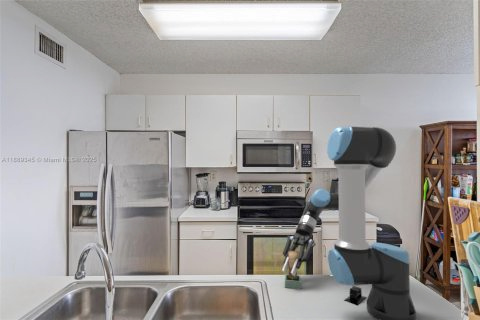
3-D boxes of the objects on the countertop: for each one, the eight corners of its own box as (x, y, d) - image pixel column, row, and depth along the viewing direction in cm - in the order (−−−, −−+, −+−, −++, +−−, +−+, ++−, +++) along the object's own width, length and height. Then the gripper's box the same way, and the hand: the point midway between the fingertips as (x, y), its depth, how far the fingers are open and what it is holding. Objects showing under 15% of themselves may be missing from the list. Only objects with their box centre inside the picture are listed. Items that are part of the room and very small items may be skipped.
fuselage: (297, 282, 116) (297, 253, 116) (288, 281, 117) (288, 253, 117) (296, 278, 119) (296, 251, 120) (288, 278, 120) (288, 250, 120)
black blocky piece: (358, 309, 99) (357, 296, 99) (338, 302, 104) (338, 290, 104) (371, 298, 107) (371, 286, 107) (353, 292, 113) (352, 281, 113)
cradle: (301, 288, 114) (301, 281, 114) (285, 287, 115) (285, 280, 115) (300, 282, 121) (300, 275, 121) (285, 281, 122) (285, 274, 122)
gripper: (325, 234, 125) (309, 283, 112) (293, 229, 136) (274, 273, 122) (320, 225, 121) (303, 273, 108) (287, 220, 132) (268, 264, 119)
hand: (288, 273), depth 115 cm, fingers closed on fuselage, 3 cm apart
